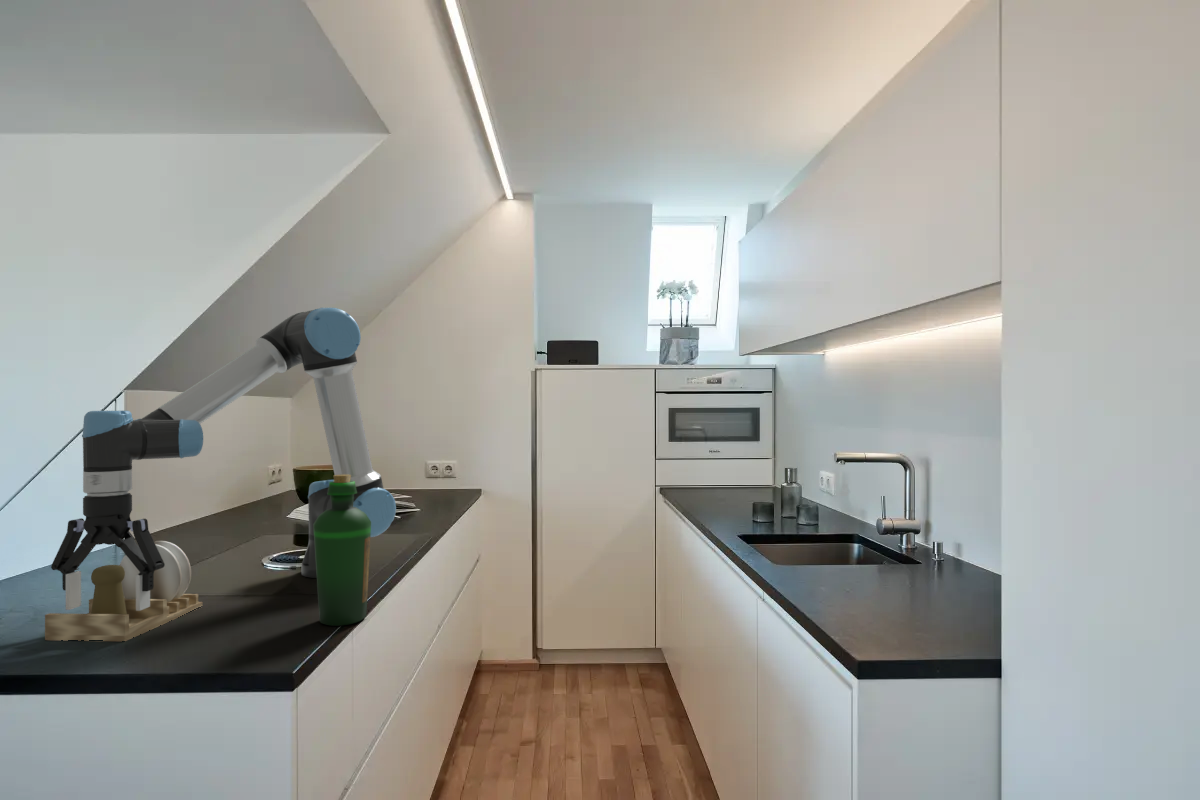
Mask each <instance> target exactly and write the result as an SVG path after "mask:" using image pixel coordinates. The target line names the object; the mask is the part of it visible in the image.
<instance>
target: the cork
mask: <svg viewBox="0 0 1200 800" xmlns="http://www.w3.org/2000/svg"><path fill="white" fill-rule="evenodd" d="M124 576H125V570H124V568H123V567H122V566H120V564H107V565H102V566H99V567H96V568H95V569H93V571H92V573H91V575H90V579H91V580H90V581H91V583H92V584H93V585H94V590H93V591H94V592H93V597H92V599H93V603H92V610H91V614H127V612H126V606H125V600H124V594H123V588H122V583H121V582H122V581H123V579H124Z"/></svg>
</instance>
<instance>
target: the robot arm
mask: <svg viewBox="0 0 1200 800" xmlns="http://www.w3.org/2000/svg"><path fill="white" fill-rule="evenodd" d="M360 343H361V331H360V327H359V324H358V323H357V321H356V320H355V319H354V317H353V316H351V315H350V314H349V313H348V312H347V311H345V310H343V309H340V308H338V307H337V308H336V307H320V308H315V309H312V310H307V311H302V312H298V313H294V314H292V315H291V316H289V317H287V318H286V319H284V320H283V321H281V322H280V323H278V324H277V325H276V326H274V327H273V328H271V329H270V330H269V331H267V332H266V333H264V334H263V335H262V336H260V337H259V338H257V339H256V340H255V345H254V346H252V347H251V348H250V349H248V350H246V351H245V352H243V353H242V354H241V355H239V356H237V357H236V358H235V359H233V360H231V361H230V362H227V364H225V365H223V366H221V367H220V368H218V369H217V370H215V371H214V372H213V373H211V374H210V375H208V376H206V377H204V378H203V379H201V380H199V382H197V383H194V385H192V386H191V387H189V388H187V389H186V390H184V391H183V392H181V393H180V394H178V395H176V396H175V397H173V398H171V400H169V401H167V402H165V403H164V404H162V405H161V406H160V407H158V408H156V409H155V410H153V411H152V412H150V413H148V414H147V415H145V416H144V417H142V418H137V419H134V418H133V417H132V415H133V414H132V412H131V411H130V410H90V411H88V412H86V413H85V415H83V424H82V435H81V437H82V461H83V463H82V465H83V468H82V469H83V471H82V475H83V476H82V483H83V484H82V492H83V493H84V494H86V495H85V496H83V497H82V515H84V516H85V519H84V518H76V519H71V520H68V521H67V527H66V534H64V535H65V536H64V538H63V540H62V542H61V544H60V546H59V549H58V551H57V553H56V555H55V557H54V559H53V561H52V564H51V565H50V568H51V570H53V571H58V572H60V573H61V574H62V576H61V577H62V578H61V579H62V590H63V591H65V610H66V611H67V610H68V611H70V610H73V609H76V608H79V607H81V606H82V570H80V568H79V567H80V565H81V564H82V563H83V562H84V561H85V560H86V558H87V557H88V556H89V555H90V553H91V552H92V551H93V549H94V548H95V547H96V546H98V545H109V546H110V545H115V546H116V547H117V548H120V549H121V550H122V552H123V553H124V554H125V555H127V557H128V558H129V559H130V560H131V562H132V563H133V564H134V565H135V567H136V568H137V569H138V570H139V572H140V573H139V574H137V575H136V611H140V610H143V609H145V608H148V607H150V590H152V589H153V587H154V584H153V583H154V582H153V581H154V571H156V570H158V569H161V568H163V567H164V565H165V564H164V562H163V560H162V558H161V555H160V553H159V551H158V549H157V547H156V545H155V543H154V542H155V540H154V539H153V537H152V535H151V532H150V531H149V523H148V519H146V518H140V519H136V520H132V519H131V513H132V511H133V494H132V493H131V492H130V491H132V489H133V464H132V463H133V461H135V460H136V461H140V460H156V459H157V460H158V459H160V460H161V459H184V458H190V457H197V456H198V455H200V453H201V452H202V449H203V447H204V446H203V445H204V431H203V428H202V425H201V424H203V423H204V422H205V421H206V420H208V419H210V418H211V417H213V416H214V415H215V414H217V413H218V412H220V411H222V410H223V409H225V408H226V407H228V406H229V405H231V404H232V403H234V402H235V401H236V400H238V399H240V398H241V397H243V396H244V395H245V394H247V393H248V392H249V391H251V390H252V389H254V388H256V387H257V386H259V385H260V384H261V383H263V382H264V381H265V380H268V379H269V378H271V377H272V376H273V375H275V374H277V373H281V374H282V373H283V374H284V373H285V372H287V371H288V370H291V369H292V368H294V367H297V366H298V365H300V364H302V366H303V370H304V371H303V372H305V374H307V375H309V376H310V377H312V379H313V384H314V388H315V393H316V396H317V400H318V405H319V409H320V414H321V415H320V416H321V419H322V423H323V427H324V434H325V437H326V441H327V446H328V451H329V456H330V460H331V466H332V469H333V473H334V475H343V474H348V475H351V479H350V481H355V485H356V490H357V493H356V494H354V503H353V507H356V508H358V509H360V510H361V511H363V512H364V513H365V514H366V515H367V516H368V518H369V519H370V521H371V536H370V538H374V537H378V536H380V535H382V534H383V533H385V531H387V529H389V528H390V526H391V524H392V522H393V521H394V520H395V517H396V512H397V506H396V505H397V504H396V500H395V497H394V496H393V495H392V494H391V492H390V491H388V490H387V489H385V488H384V484H383V483H384V482H383V478H382V475H381V473H379V472H377V471H376V470H374V469H373V464H372V460H371V454H370V449H369V446H368V445H369V444H368V441H367V436H366V431H365V427H364V421H363V417H362V412H361V408H360V402H359V398H358V393H357V389H356V383H355V378H354V374H353V370H354V368H355V367H356V365H357V364H358V360H357V355H356V351H358V347H359V346H360ZM330 482H334V479H327V480H319V481H314V482H311V483H310V484H309V487H308V495H307V500H308V501H307V502H308V503H307V504H308V505H307V506H308V544H307V548H306V550H305V553H304V556H303V560H302V562H301V565H300V567H301V572H300V573H301V574H300V575H301V576H303V577H306V578H309V579H310V578H312V579H317V574H316V559H315V543H314V528H313V524H314V522H315V521H316V519H317V518H318V516H319V515H320V514H322V513H323V512H324V511H326V510H327V509H330V508H332V507H331V497H330V495H328V494H327V493H328V488H329V483H330ZM84 531H85V532H86V534H85V536H84V537H83V536H82V535H83V533H84ZM131 532H132V533H131ZM81 537H83V538H82V540H81ZM80 540H81V541H80ZM79 542H80V544H79ZM78 544H79V545H78Z"/></svg>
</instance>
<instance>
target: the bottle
mask: <svg viewBox="0 0 1200 800" xmlns="http://www.w3.org/2000/svg"><path fill="white" fill-rule="evenodd" d="M350 479H351V475H348V474H343V475H335V474H334V475H333V480H334V482H330V483H329V488H328V493H327V494H328V495H330V497H331V507H332V508H330V509H327V510H326V511H324V512H323V513H322V514H320V515H319V516H318V518H317V519H316V521H315V522H314V524H313V528H314V543H315V559H316V574H317V578H316V587H317V588H316V589H317V600H318V601H317V602H318V617H319V623H320V624H323V625H326V626H330V627H342V626H350V625H354V624H356V623H359V622H361V621H363V620H364V619H365V618H367V613H368V612H367V611H368V610H367V609H368V607H367V606H368V593H369V592H368V589H369V588H368V587H369V574H370V573H369V572H370V555H371V554H370V551H371V537H370V536H371V521H370V519H369V518H368V516H367V515H366V514H365V513H364V512H363V511H361V510H360V509H358V508H356V507H353V503H354V494H356V493H357V490H356V485H355V481H350Z"/></svg>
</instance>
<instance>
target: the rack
mask: <svg viewBox="0 0 1200 800" xmlns="http://www.w3.org/2000/svg"><path fill="white" fill-rule="evenodd" d="M154 543H155V545H156V547H157V549H158V551H159V553H160V555H161V558H162V560H163V562H164V564H165V565H164V567H163V568H161V569H158V570H156V571H154V581H153V582H154V583H153V584H154V587H153V589H152V590H150V607H148V608H145V609H143V610H140V611H136V575H137V574H139V573H140V572H139V570H138V569H137V568H136V567H135V565H134V564H133V563H132V562H131V560H130V559H129V558H128V557H127V555H126V554H125V555H124V556H123V557H122V559H121V561H120V562H119V565H120V566H122V567H123V568H124V570H125V576H124V579H123V581H122V582H121V583H122V588H123V594H124V600H125V606H126V612H127V614H91V610H92V603H93V598H91V599H88V612H87V613H64V612H63V613H60V612H59V613H57V612H55V613H53V612H52V613H51V612H50V613H46V614H44V640H45V641H61V640H63V642H64V641H66V642H67V641H68V640H78V641H79V642H80V641H81V640H84V641H83V642H90V641H89V640H103V641H102V642H122V641H125V642H127V641H129V640H131V639H134V638H136V637H138V636H140V634H141V635H143V634H145V633H147V632H149V630H150V631H152V630H153V629H156V628H158V627H161V626H163V625H164V624H167V623H169V621H170V622H171V620H172V621H174V620H176V619H178V617H179V618H181V617H183V616H185V615H187V614H186V613H188V612H190V611H192V610H194V609H196V608H198V607H201V606H203V605H204V603H203V601H199V593H186V591H187V589H188V588H189V587H190V583H191V579H192V567H191V564H190V559H189V558H188V556H187V555H186V553H185V552H184V551H183V549H182V548H180V547H179V546H178V545H176V544H175V543H173V542H170V541H166V540H156V541H155V540H154ZM203 607H204V606H203ZM201 608H202V607H201ZM196 610H197V609H196ZM194 611H195V610H194ZM192 612H193V611H192ZM190 613H191V612H190ZM184 614H185V615H184ZM188 614H189V613H188ZM182 615H183V616H182ZM180 616H181V617H180ZM160 625H161V626H160ZM133 637H134V638H133ZM78 641H77V642H78ZM81 642H82V641H81Z"/></svg>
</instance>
